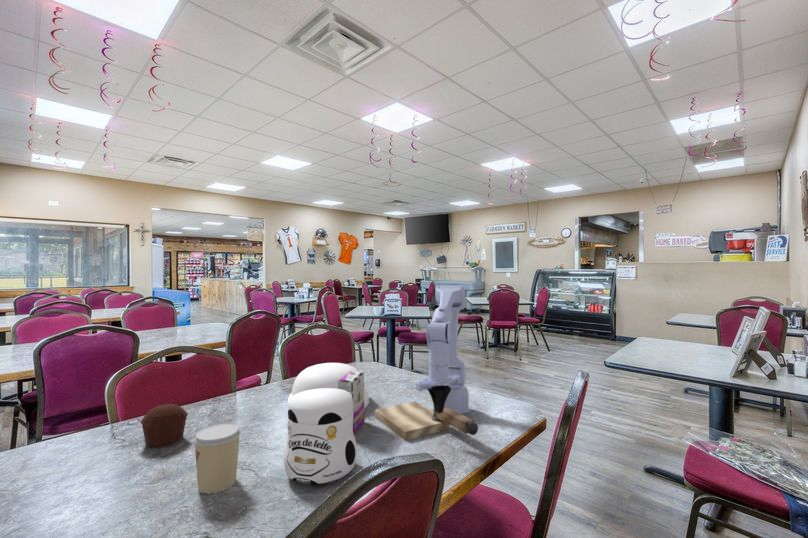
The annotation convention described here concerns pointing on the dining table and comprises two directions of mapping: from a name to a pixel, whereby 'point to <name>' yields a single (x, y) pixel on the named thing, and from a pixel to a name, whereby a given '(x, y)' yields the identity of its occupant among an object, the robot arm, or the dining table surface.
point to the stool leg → (457, 420)
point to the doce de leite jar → (320, 436)
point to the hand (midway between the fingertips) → (438, 411)
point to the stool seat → (410, 420)
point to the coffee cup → (217, 457)
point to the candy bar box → (355, 395)
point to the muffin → (164, 425)
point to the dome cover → (323, 378)
